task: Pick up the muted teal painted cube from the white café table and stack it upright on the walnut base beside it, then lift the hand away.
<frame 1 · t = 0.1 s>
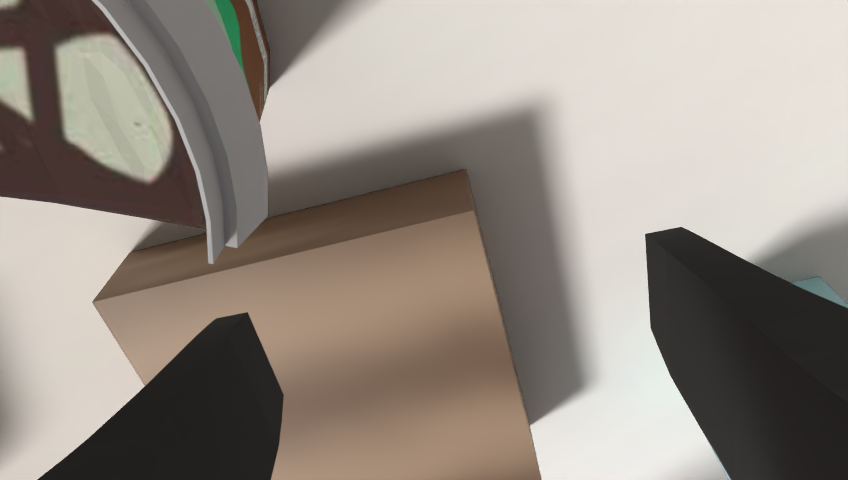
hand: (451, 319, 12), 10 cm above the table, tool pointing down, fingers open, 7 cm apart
walnut base: (347, 347, 24), on the table
teal cube: (748, 342, 25), on the table
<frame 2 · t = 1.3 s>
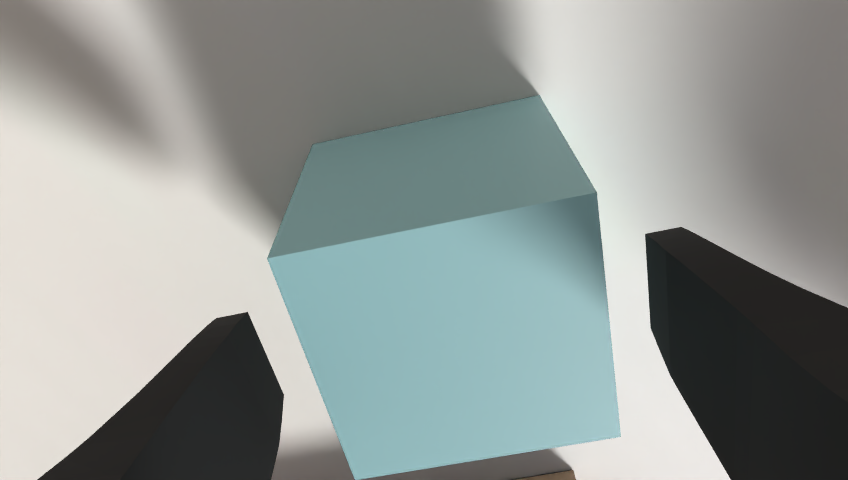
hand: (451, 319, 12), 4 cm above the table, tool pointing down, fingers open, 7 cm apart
teal cube: (447, 219, 15), on the table
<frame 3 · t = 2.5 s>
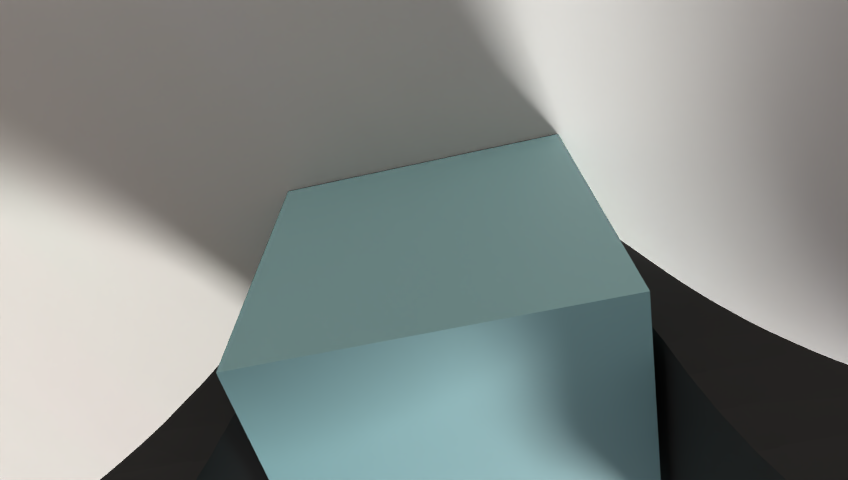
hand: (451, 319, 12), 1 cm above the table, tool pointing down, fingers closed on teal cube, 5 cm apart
teal cube: (447, 277, 13), on the table, touching gripper
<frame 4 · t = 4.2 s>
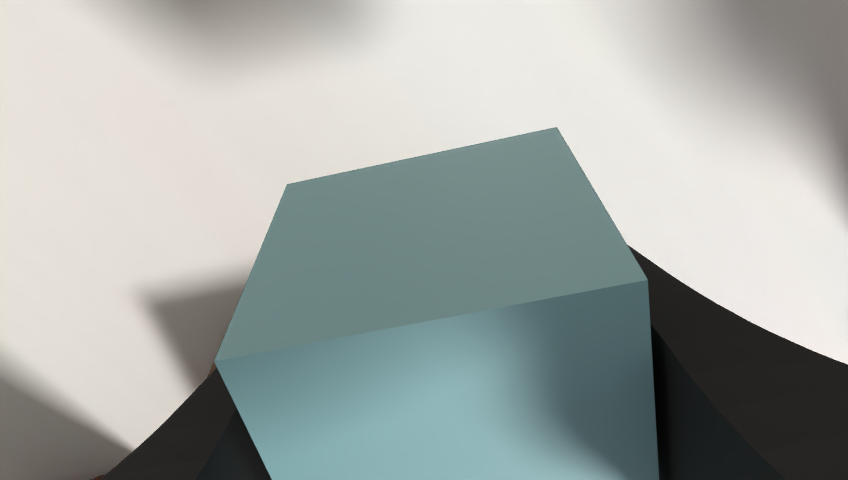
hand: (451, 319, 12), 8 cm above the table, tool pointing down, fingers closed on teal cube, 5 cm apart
teal cube: (446, 270, 13), point 7 cm above the table, touching gripper
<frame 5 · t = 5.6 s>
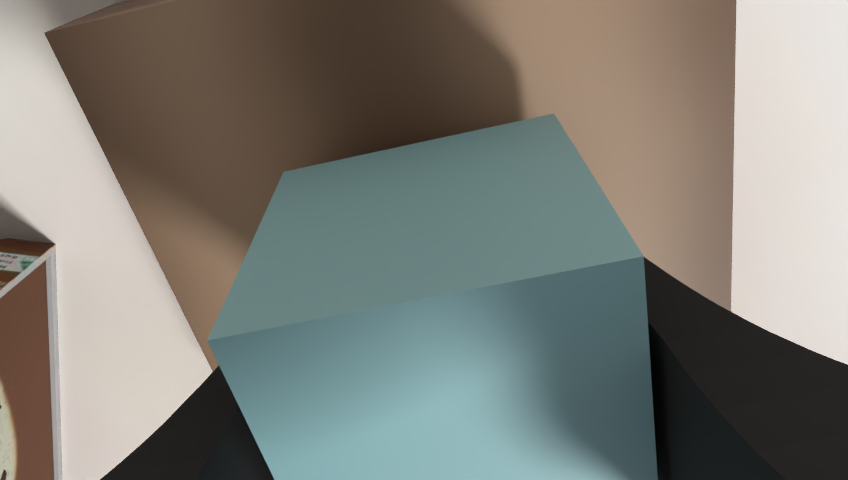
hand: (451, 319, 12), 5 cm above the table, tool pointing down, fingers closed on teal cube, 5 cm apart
walnut base: (439, 192, 16), on the table
teal cube: (443, 259, 13), point 4 cm above the table, touching gripper
when the fingers open (5 cm above the table, at t = 6.3 s): teal cube stays where it is, resting on walnut base.
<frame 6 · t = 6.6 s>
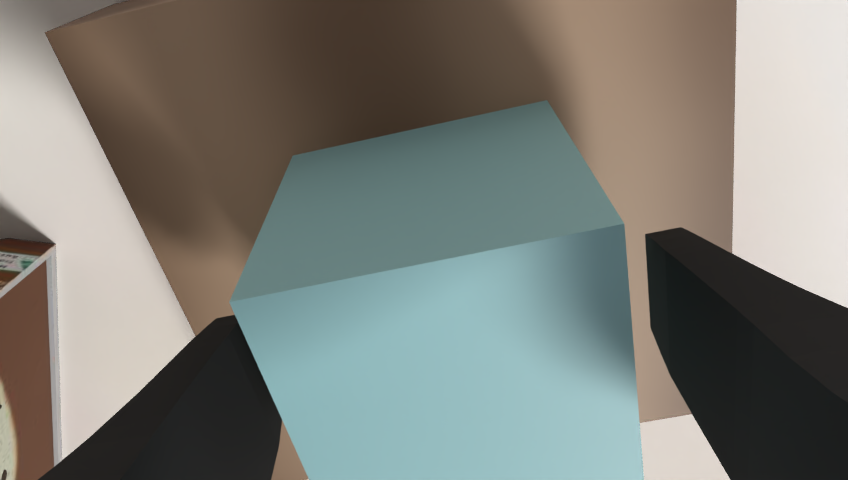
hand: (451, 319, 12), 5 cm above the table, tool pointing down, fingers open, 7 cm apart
walnut base: (440, 192, 16), on the table
teal cube: (443, 239, 13), point 3 cm above the table, touching walnut base
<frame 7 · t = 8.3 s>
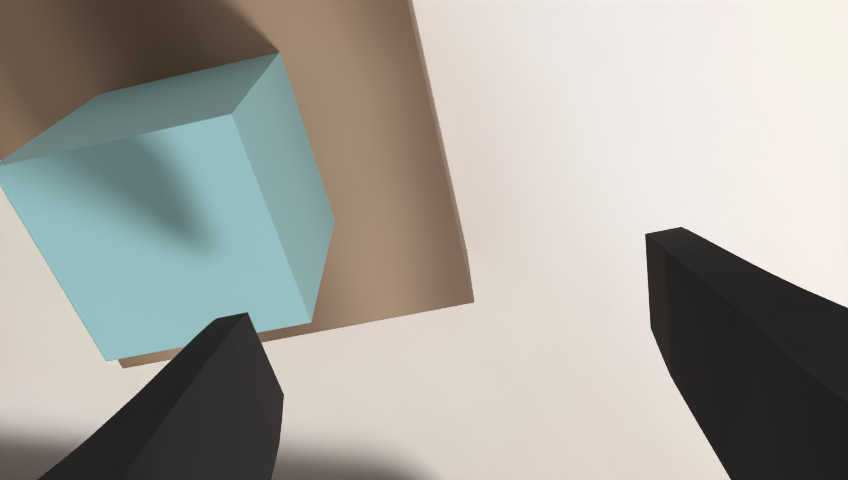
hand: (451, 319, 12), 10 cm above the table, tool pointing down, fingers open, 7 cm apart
walnut base: (250, 134, 21), on the table
teal cube: (223, 160, 18), point 3 cm above the table, touching walnut base
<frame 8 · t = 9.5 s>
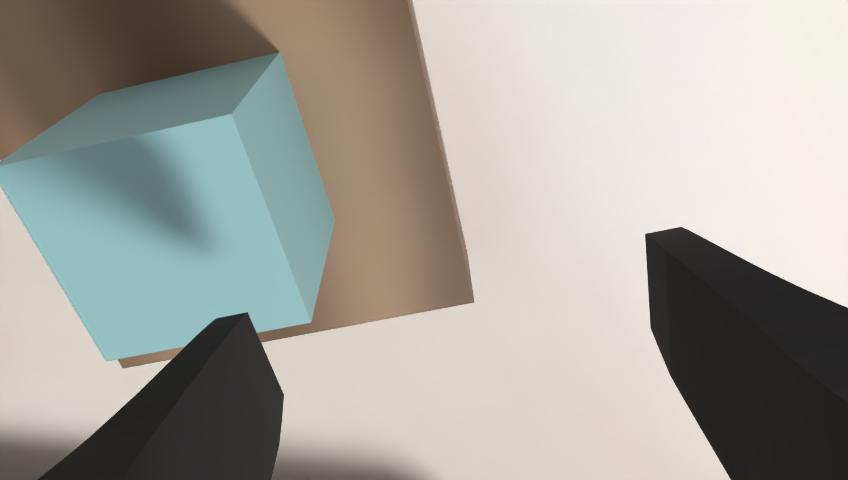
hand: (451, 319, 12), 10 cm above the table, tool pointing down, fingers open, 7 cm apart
walnut base: (250, 134, 21), on the table
teal cube: (223, 160, 18), point 3 cm above the table, touching walnut base
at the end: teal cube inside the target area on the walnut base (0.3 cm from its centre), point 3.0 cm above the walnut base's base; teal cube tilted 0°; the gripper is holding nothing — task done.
